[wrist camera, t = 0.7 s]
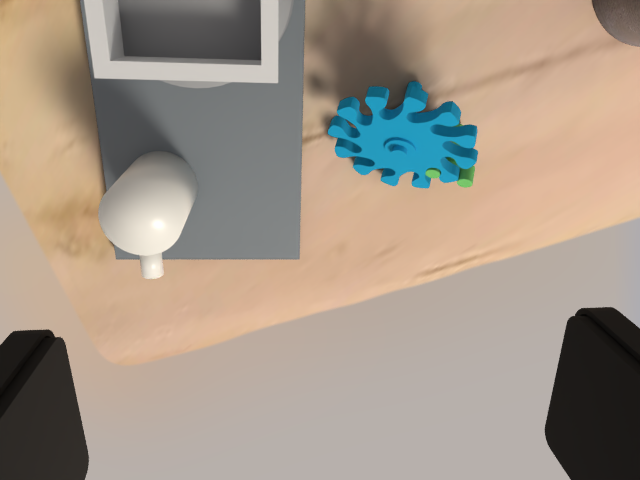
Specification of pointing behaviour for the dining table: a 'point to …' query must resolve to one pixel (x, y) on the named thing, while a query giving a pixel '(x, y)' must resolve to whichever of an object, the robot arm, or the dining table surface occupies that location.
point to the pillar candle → (620, 19)
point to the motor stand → (207, 112)
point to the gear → (406, 138)
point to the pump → (149, 207)
